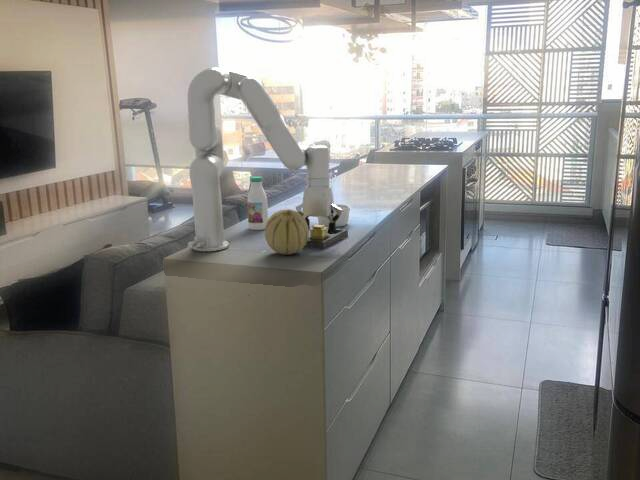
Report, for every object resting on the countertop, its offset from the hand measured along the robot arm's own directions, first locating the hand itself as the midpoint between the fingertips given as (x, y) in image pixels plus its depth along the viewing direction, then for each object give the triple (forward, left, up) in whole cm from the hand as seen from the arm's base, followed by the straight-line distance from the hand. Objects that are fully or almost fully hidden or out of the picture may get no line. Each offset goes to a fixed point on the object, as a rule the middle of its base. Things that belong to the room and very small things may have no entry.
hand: (319, 232), depth 211 cm
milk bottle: (+14, +34, -5) cm, 37 cm away
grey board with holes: (+5, 0, -4) cm, 7 cm away
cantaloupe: (-14, +5, -5) cm, 15 cm away
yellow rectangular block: (0, 0, -5) cm, 5 cm away
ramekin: (+31, +10, -5) cm, 33 cm away
